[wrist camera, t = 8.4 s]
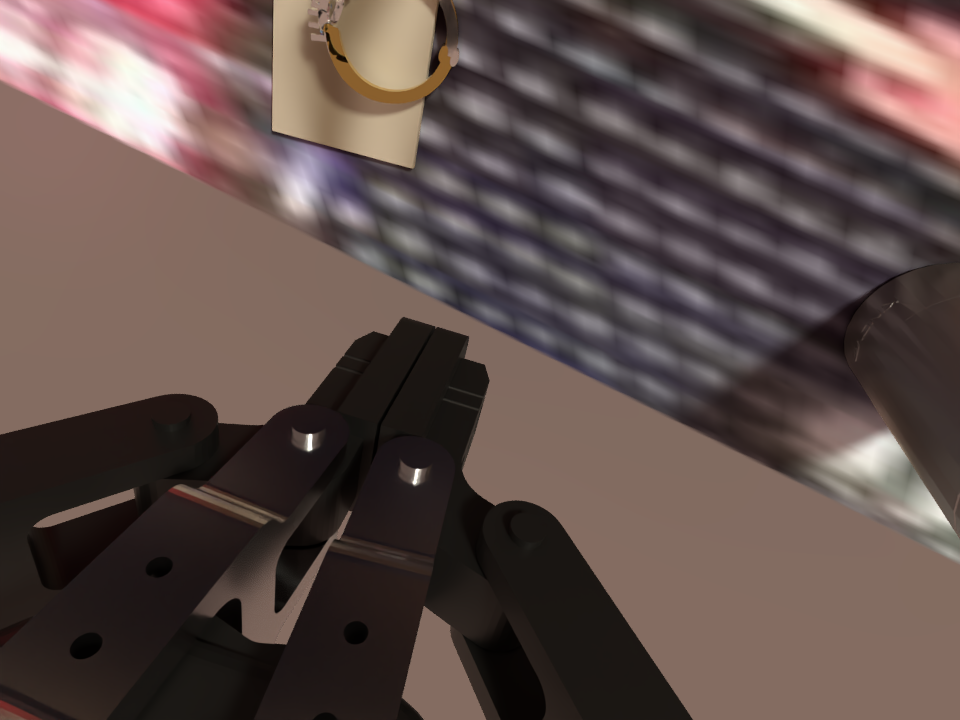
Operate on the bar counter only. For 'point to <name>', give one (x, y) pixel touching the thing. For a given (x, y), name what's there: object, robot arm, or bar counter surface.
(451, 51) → the ring
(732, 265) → the bar counter surface
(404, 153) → the birch board
